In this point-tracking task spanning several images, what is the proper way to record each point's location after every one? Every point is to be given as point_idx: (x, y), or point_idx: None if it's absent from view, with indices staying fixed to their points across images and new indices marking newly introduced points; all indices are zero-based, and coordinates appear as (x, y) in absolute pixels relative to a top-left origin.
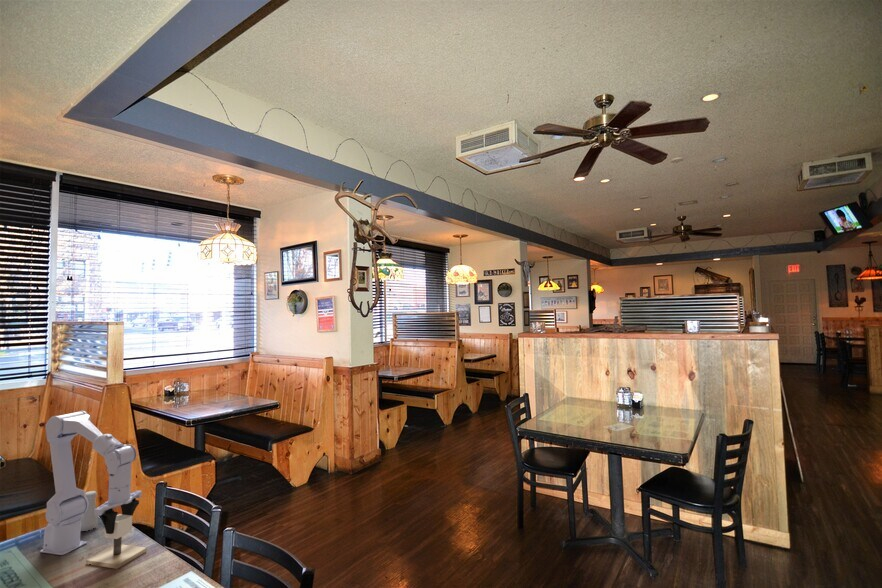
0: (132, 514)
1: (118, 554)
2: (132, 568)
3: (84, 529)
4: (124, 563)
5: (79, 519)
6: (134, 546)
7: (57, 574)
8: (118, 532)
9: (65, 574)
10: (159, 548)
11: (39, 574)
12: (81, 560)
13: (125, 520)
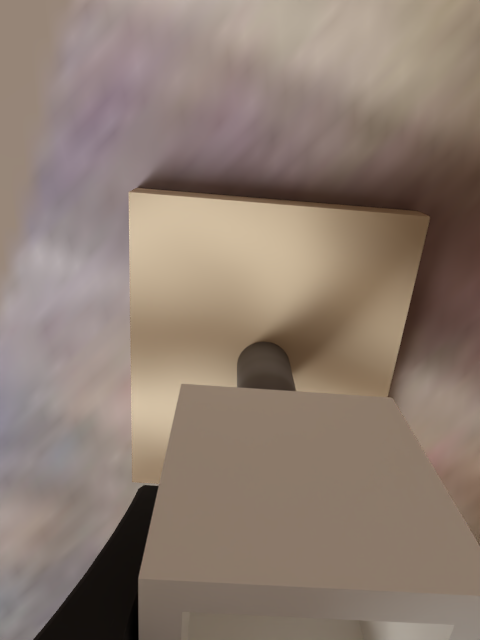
0: (74, 610)
1: (276, 344)
2: (410, 75)
3: None
4: (356, 207)
5: None
6: (137, 320)
7: (470, 529)
8: (402, 444)
9: (473, 491)
10: (58, 101)
11: None
12: None
13: (307, 553)
